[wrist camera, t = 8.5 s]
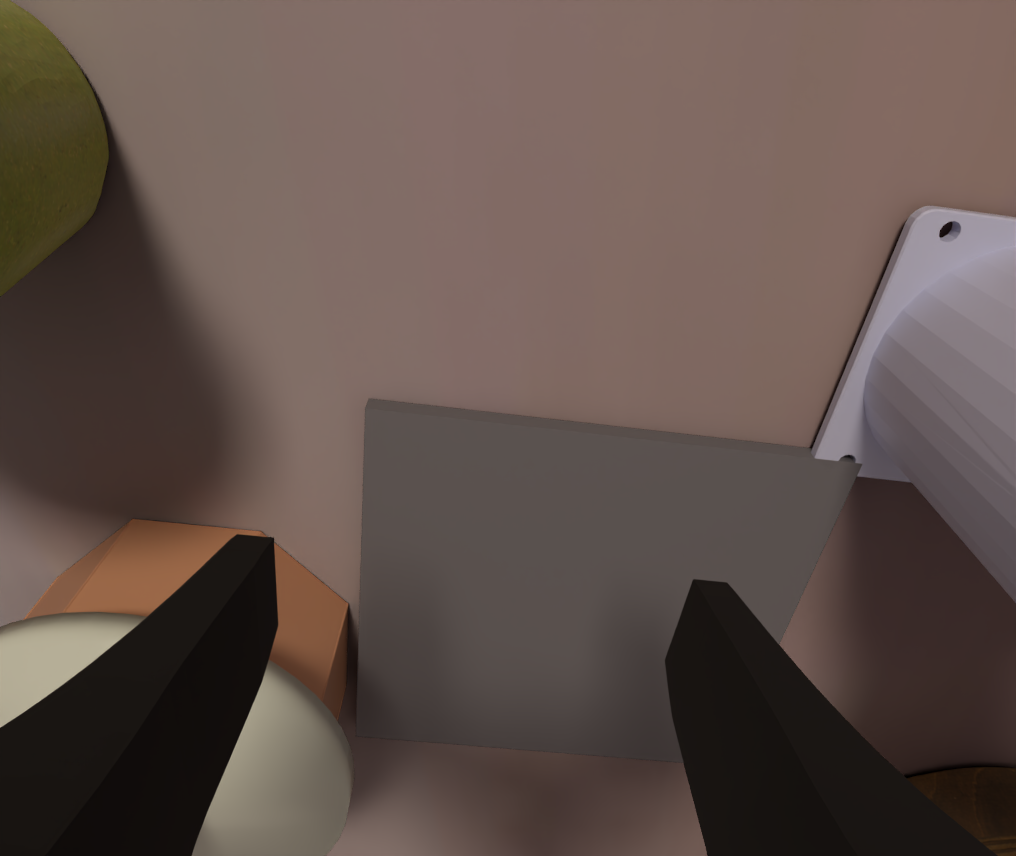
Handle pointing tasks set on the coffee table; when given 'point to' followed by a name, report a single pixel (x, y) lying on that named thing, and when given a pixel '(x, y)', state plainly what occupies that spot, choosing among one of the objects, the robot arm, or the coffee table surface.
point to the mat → (562, 570)
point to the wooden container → (977, 802)
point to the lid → (255, 759)
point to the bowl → (180, 554)
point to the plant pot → (43, 145)
